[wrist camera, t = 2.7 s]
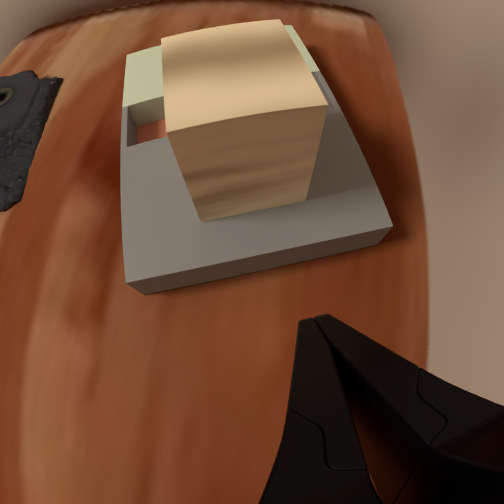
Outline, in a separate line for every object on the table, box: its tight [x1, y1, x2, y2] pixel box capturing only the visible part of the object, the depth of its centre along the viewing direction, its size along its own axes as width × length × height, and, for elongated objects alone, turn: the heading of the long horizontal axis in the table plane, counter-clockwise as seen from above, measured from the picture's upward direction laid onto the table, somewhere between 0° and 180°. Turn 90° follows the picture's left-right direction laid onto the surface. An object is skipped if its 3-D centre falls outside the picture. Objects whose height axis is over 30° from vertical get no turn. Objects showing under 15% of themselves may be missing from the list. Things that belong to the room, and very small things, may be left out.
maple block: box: [161, 19, 328, 222], centre depth 18 cm, size 8×7×9 cm
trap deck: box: [121, 25, 393, 295], centre depth 26 cm, size 25×18×4 cm
